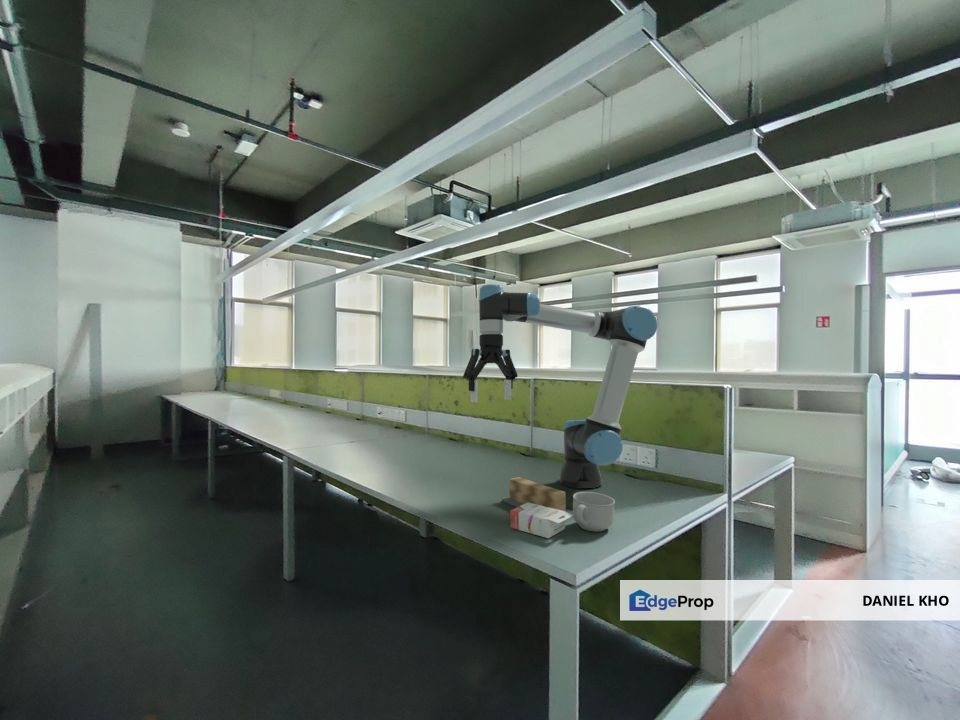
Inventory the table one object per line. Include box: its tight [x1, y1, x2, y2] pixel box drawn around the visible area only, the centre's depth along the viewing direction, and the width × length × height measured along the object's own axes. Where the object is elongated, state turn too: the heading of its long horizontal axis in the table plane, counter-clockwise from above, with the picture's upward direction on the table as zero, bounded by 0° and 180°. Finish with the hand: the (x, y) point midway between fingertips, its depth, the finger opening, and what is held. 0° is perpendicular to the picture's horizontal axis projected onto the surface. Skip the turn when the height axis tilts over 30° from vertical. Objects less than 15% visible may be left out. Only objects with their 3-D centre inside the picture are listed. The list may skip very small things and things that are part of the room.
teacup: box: [572, 491, 616, 533], centre depth 110 cm, size 14×11×8 cm
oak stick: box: [509, 476, 567, 512], centre depth 126 cm, size 20×4×6 cm, turn 36°
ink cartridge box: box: [509, 503, 574, 539], centre depth 109 cm, size 9×5×15 cm
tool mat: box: [501, 496, 573, 517], centre depth 127 cm, size 9×22×1 cm, turn 36°
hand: (491, 400), depth 133 cm, fingers open, 13 cm apart
